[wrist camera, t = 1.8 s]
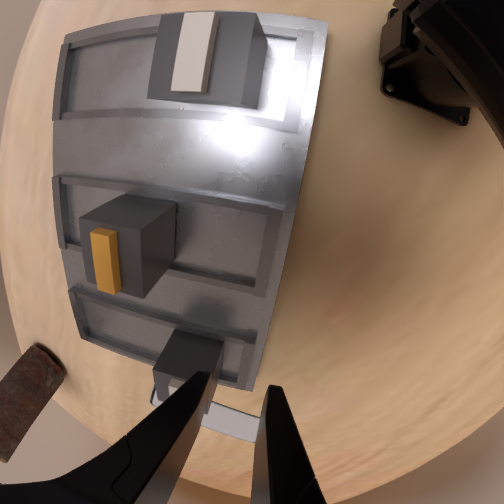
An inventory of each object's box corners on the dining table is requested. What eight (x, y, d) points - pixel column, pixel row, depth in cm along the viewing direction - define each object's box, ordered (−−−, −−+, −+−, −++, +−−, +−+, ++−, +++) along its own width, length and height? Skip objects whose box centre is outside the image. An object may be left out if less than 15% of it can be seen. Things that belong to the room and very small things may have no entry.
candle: (37, 333, 30) (-39, 427, 12) (73, 369, 32) (6, 470, 14) (31, 350, 33) (-32, 431, 15) (62, 381, 35) (6, 467, 17)
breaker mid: (176, 203, 17) (133, 236, 12) (174, 261, 18) (138, 306, 14) (121, 194, 17) (70, 222, 12) (123, 249, 19) (80, 287, 14)
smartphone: (156, 378, 28) (278, 424, 29) (157, 374, 28) (279, 420, 29) (149, 403, 31) (255, 443, 32) (150, 400, 32) (256, 440, 32)
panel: (325, 32, 13) (330, 17, 10) (255, 375, 25) (251, 398, 23) (81, 38, 14) (58, 33, 11) (91, 327, 26) (78, 343, 24)
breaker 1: (267, 42, 12) (253, 6, 7) (256, 109, 14) (237, 102, 9) (196, 38, 12) (154, 9, 7) (185, 103, 14) (138, 97, 9)
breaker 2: (224, 340, 21) (206, 394, 16) (220, 372, 23) (205, 422, 18) (174, 328, 21) (148, 376, 16) (176, 360, 23) (154, 406, 18)
